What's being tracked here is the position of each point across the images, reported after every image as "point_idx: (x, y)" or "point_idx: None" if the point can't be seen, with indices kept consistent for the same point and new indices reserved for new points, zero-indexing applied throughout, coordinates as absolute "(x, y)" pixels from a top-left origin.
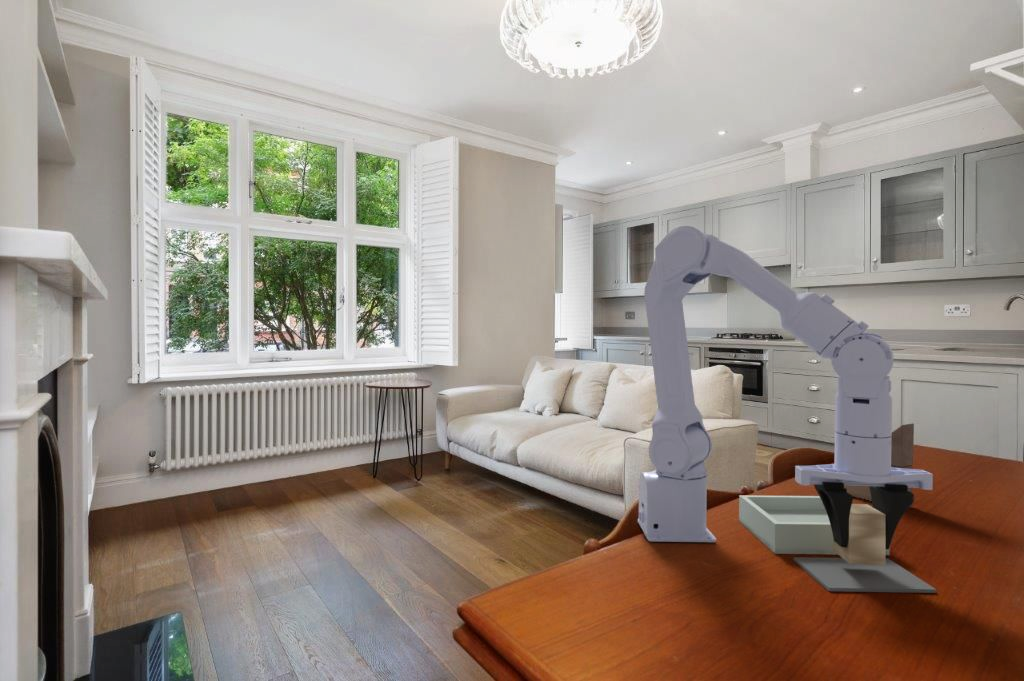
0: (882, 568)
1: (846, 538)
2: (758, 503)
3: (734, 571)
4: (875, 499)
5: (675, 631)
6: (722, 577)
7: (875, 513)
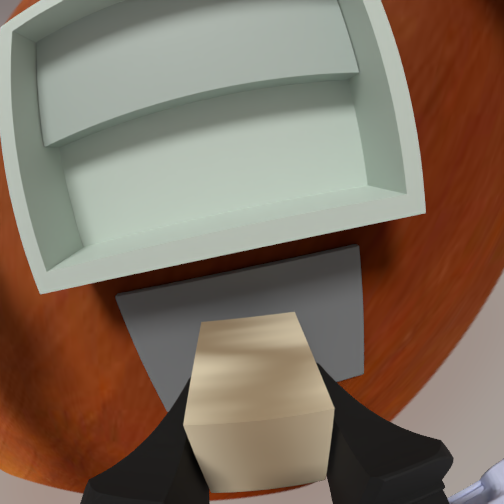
0: (313, 312)
1: None
2: (57, 17)
3: (30, 356)
4: (346, 465)
5: (33, 459)
6: (23, 375)
7: (299, 479)
